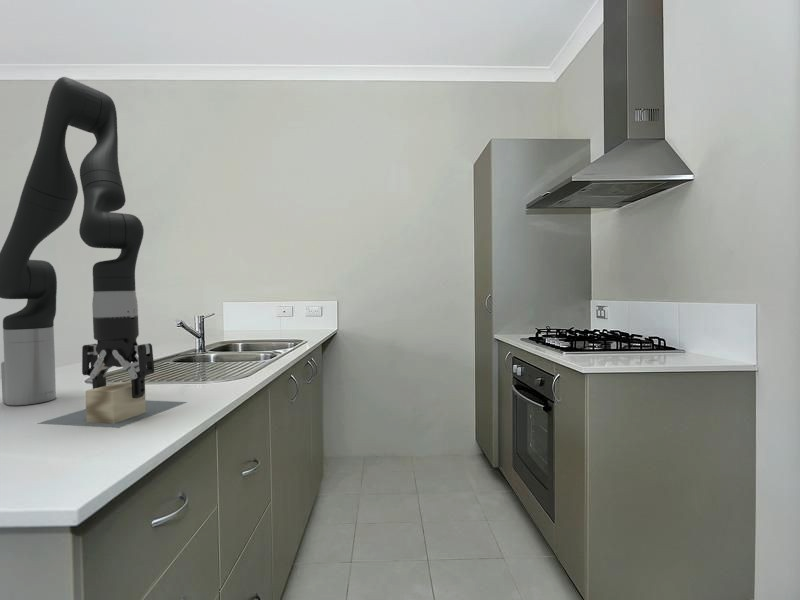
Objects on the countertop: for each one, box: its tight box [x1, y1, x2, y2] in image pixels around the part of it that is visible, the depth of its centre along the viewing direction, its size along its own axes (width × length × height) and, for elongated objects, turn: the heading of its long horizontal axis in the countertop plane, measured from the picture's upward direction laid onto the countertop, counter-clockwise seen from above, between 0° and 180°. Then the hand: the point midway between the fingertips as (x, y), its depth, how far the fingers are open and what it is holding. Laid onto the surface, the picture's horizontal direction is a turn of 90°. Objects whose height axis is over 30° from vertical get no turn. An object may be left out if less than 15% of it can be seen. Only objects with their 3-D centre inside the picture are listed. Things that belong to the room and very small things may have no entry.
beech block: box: [85, 381, 146, 424], centre depth 89 cm, size 6×8×6 cm
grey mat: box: [37, 399, 188, 429], centre depth 93 cm, size 18×19×1 cm
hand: (119, 397), depth 89 cm, fingers open, 8 cm apart
